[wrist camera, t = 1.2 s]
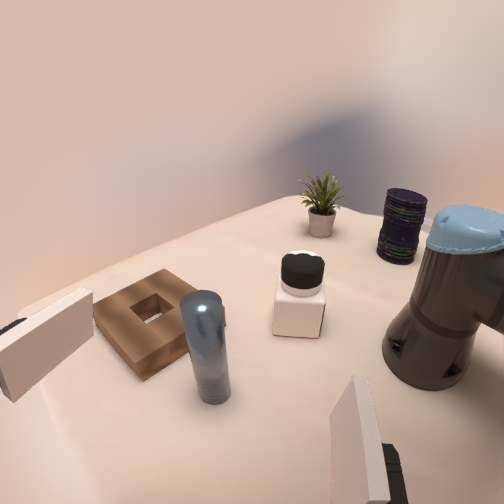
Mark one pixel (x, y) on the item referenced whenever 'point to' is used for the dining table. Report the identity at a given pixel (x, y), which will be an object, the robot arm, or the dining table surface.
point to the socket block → (153, 333)
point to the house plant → (321, 207)
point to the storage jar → (401, 226)
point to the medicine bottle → (300, 296)
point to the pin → (206, 344)
